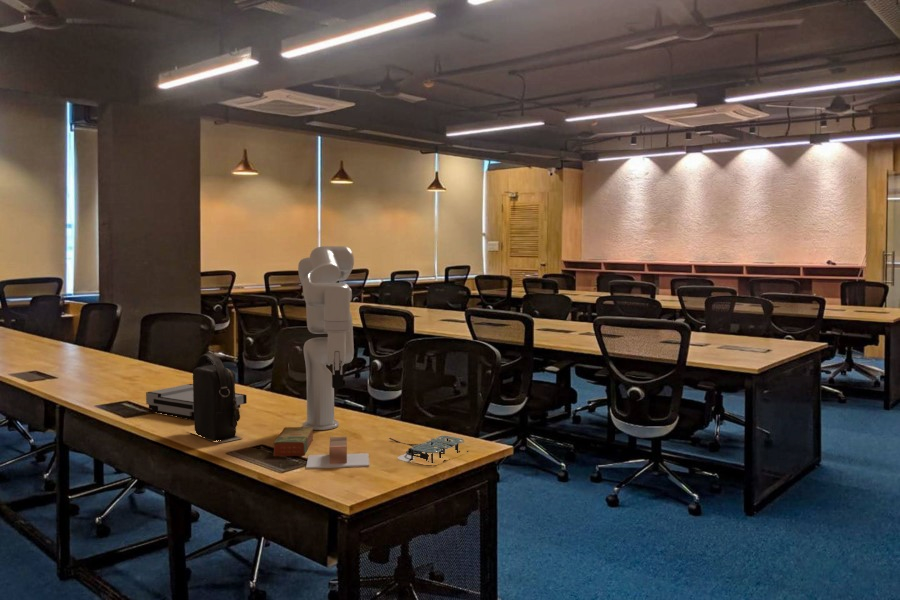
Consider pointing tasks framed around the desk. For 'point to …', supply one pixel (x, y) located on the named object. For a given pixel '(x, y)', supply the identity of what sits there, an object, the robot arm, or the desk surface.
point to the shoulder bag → (214, 400)
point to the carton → (293, 441)
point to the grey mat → (352, 461)
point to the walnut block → (338, 450)
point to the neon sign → (430, 448)
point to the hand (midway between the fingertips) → (337, 387)
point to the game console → (178, 401)
